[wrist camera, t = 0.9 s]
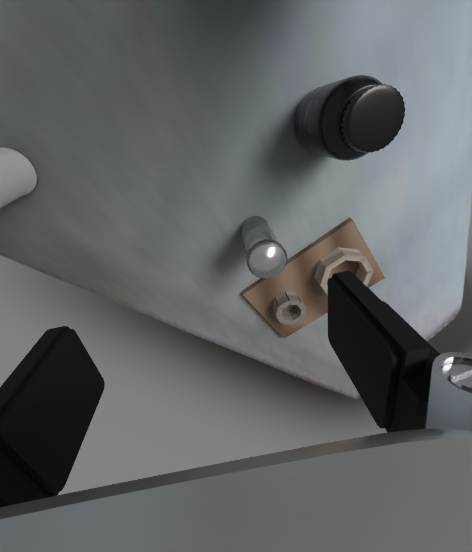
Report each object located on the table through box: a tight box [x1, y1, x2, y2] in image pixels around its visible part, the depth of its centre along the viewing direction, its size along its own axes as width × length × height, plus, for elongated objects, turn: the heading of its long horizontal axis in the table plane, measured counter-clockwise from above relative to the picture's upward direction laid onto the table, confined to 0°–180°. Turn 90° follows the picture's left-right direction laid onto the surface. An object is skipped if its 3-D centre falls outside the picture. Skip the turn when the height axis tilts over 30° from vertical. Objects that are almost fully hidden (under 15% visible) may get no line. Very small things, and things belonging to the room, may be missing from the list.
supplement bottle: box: [294, 75, 405, 160], centre depth 27 cm, size 7×7×12 cm
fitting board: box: [242, 218, 385, 338], centre depth 42 cm, size 19×12×4 cm, turn 127°
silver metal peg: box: [241, 216, 287, 278], centre depth 34 cm, size 4×4×10 cm
